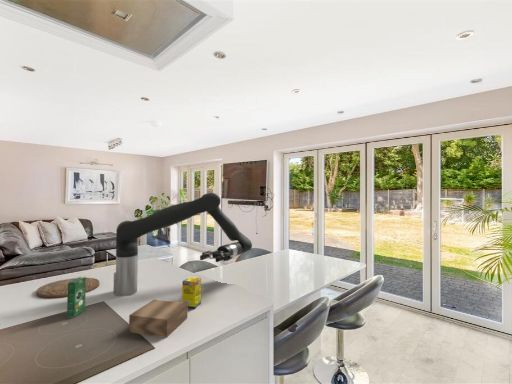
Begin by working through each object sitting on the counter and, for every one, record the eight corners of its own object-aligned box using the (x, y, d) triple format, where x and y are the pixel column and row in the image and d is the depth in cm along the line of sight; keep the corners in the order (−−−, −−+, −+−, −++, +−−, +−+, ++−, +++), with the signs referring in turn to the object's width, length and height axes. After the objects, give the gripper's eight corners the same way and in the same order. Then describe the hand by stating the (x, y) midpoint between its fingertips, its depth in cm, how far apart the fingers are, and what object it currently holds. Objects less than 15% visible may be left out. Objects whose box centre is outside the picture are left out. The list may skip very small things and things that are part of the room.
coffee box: (78, 309, 108) (78, 276, 108) (85, 308, 108) (86, 275, 108) (66, 318, 100) (66, 282, 100) (74, 318, 100) (75, 282, 100)
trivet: (97, 293, 126) (97, 289, 126) (28, 302, 115) (29, 298, 115) (101, 278, 148) (101, 275, 148) (44, 285, 137) (44, 281, 137)
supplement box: (195, 309, 109) (195, 281, 109) (181, 307, 110) (182, 280, 110) (201, 303, 115) (201, 277, 115) (188, 302, 116) (188, 276, 116)
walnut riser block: (129, 333, 90) (129, 315, 90) (153, 315, 104) (153, 299, 104) (167, 338, 87) (167, 319, 87) (187, 319, 101) (187, 303, 101)
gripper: (215, 243, 141) (195, 249, 126) (239, 245, 134) (221, 252, 120) (215, 258, 141) (195, 265, 126) (239, 260, 134) (221, 269, 120)
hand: (208, 258), depth 123 cm, fingers open, 8 cm apart
